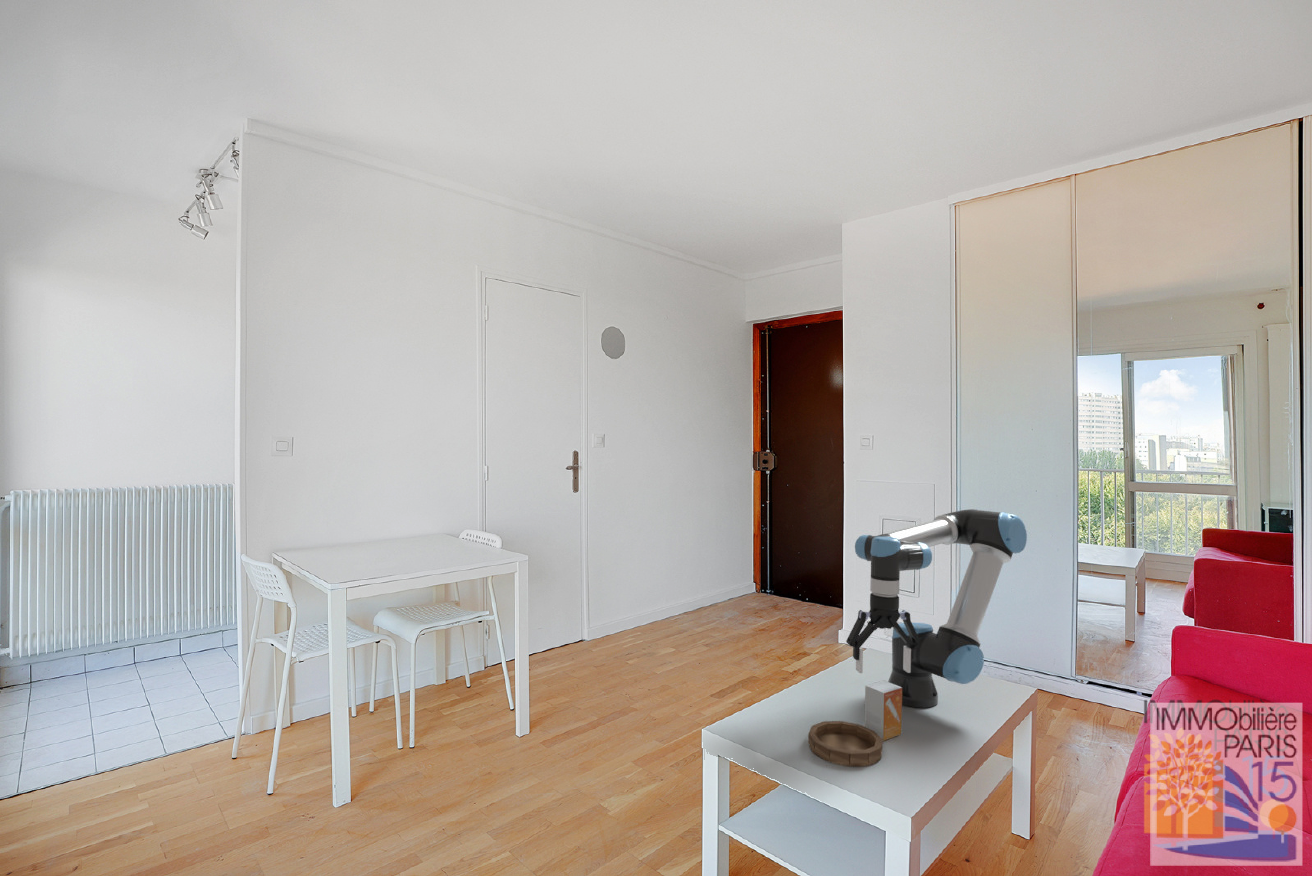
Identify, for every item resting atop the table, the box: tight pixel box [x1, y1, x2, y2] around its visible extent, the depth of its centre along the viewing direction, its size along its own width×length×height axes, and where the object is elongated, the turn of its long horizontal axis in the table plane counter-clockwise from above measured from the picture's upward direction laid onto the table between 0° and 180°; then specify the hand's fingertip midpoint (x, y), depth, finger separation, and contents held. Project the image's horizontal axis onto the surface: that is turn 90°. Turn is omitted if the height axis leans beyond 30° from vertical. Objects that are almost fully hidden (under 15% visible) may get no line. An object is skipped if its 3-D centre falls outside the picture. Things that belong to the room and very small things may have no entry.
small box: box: [864, 680, 903, 742], centre depth 173 cm, size 8×6×13 cm
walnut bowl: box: [807, 720, 884, 768], centre depth 164 cm, size 18×18×3 cm
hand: (883, 671), depth 173 cm, fingers open, 13 cm apart
